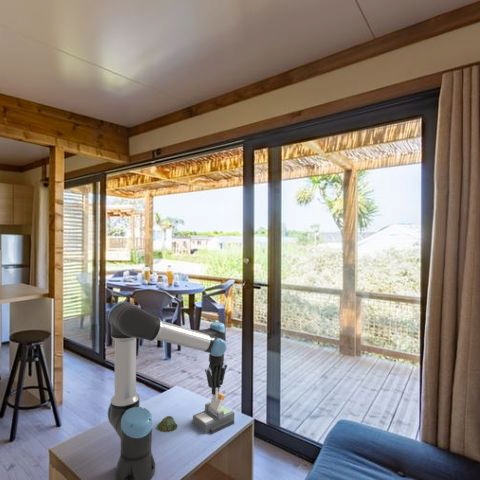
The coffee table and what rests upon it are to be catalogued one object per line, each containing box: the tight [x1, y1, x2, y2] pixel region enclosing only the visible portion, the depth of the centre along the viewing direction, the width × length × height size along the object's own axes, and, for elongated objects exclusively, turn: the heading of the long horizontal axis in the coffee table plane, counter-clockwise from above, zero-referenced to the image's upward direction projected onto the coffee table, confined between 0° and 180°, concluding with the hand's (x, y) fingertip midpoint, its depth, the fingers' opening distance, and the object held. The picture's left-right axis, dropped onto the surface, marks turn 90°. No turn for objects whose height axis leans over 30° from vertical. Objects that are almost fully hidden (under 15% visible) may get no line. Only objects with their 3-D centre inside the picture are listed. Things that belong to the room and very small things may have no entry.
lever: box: [208, 392, 226, 415], centre depth 170 cm, size 2×8×9 cm, turn 43°
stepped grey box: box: [192, 401, 235, 434], centre depth 169 cm, size 18×12×7 cm, turn 133°
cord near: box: [209, 419, 235, 435], centre depth 164 cm, size 14×2×2 cm, turn 133°
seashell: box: [156, 415, 178, 433], centre depth 164 cm, size 10×4×10 cm
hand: (215, 399), depth 169 cm, fingers closed
